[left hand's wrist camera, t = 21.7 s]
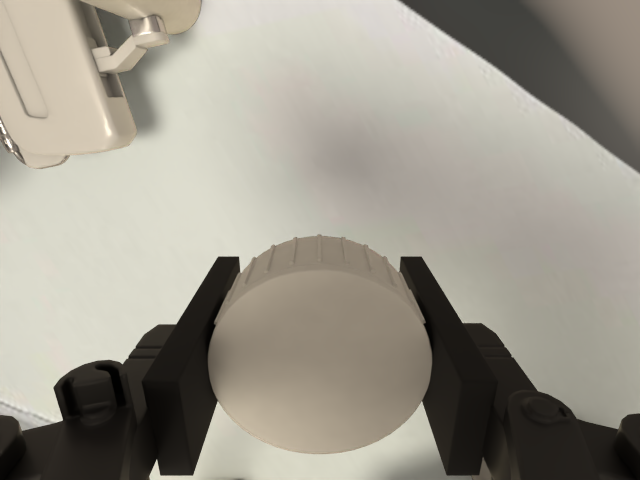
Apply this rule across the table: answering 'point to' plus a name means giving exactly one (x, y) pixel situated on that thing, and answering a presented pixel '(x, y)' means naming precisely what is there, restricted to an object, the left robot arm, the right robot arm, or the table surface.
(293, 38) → the table surface
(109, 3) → the jar
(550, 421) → the left robot arm
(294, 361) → the lid
